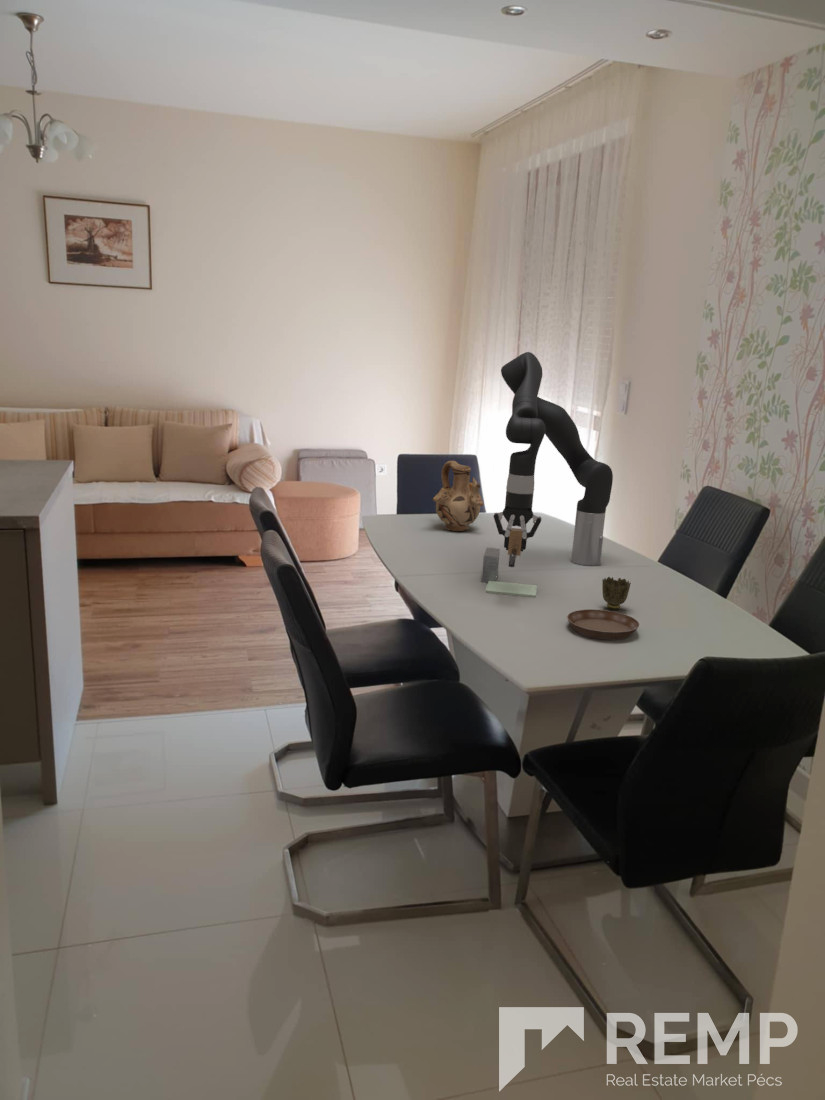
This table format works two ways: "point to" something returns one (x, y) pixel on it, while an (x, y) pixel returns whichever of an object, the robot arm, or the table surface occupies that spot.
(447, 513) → the ceramic vessel
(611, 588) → the cup
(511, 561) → the wooden head mallet
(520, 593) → the mat
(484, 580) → the slotted metal block
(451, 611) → the table surface
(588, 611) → the plant saucer
